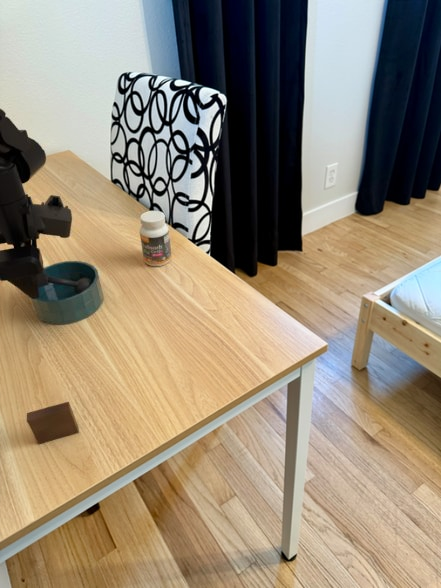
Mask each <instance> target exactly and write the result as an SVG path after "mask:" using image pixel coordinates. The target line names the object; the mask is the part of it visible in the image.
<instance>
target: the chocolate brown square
mask: <svg viewBox="0 0 441 588" xmlns="http://www.w3.org/2000/svg"><path fill="white" fill-rule="evenodd" d="M26 422H27V424H28V426H29V428H30V430H31V432H32V434H33V436H34V438H35V440H36V442H37V444H38V445H41V444H44V443H48V442H51V441H55V440H59V439H62V438H65V437H69V436H71V435H76V434H78V433H80V432H79V431H80V430H79V424H78V421H77V419H76V417H75V414H74V411H73V409H72V406H71V403H70V401H66V402H63V403H58V404H55V405H51V406H48V407H44V408H40V409H36V410H32V411H29V412H27V413H26Z"/></svg>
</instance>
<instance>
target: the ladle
mask: <svg viewBox="0 0 441 588" xmlns="http://www.w3.org/2000/svg"><path fill="white" fill-rule="evenodd" d="M44 268H45V267H44V266H43V271H42V272H41V273H40V274H38V275H37V282H38V287H42V286H46V285H49V283H54V284H60V285H67V286H73V287H74V289H75V292H76V294H80V293H81V292H83V291H84V290H86V289H88V288H89V287H90V286H91V284H92V283H93V281H92V280H90V279H88V278H82V279H80V280H78V281H72V280H66V279H59V278H53V277H48V276H47V274H46V272H45V269H44Z"/></svg>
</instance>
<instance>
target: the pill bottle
mask: <svg viewBox="0 0 441 588" xmlns="http://www.w3.org/2000/svg"><path fill="white" fill-rule="evenodd" d="M139 220H140V224H141V225H140V227H139V236H140V243H141V251H142V258H143V261H144V263H145V264H146V265H148V266H151V267H161V266H166V265H167V264H169V262H170V261H171V260H172V247H171V246H172V245H171V237H170V229H169V226H168V224H166V216H165V213H164V212H162V211H160V210H149V211H146V212H143V213H142V214H141V215H140V217H139Z"/></svg>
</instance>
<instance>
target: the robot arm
mask: <svg viewBox="0 0 441 588" xmlns="http://www.w3.org/2000/svg"><path fill="white" fill-rule="evenodd" d="M6 115H7V114H6V111H4V110H3V109H2V108H0V245H3V244H6V245H8V246H13V247H11V248H6V249H1V250H0V281H1V282H8V283H10V284H11V285H13V286H14V287H15V288H17V289H18V290H20V291H21V292H22V293H24V294H25V295H26V296H28V298H29V297H30V298H31V299H37V298H39V290H38V282H37V275H38V274H40V273H41V272H42V271H43V267H44V260H43V255H42V252H41V249H40V248H39V247H38V240H39V239H40V235H44V236H45V235H46V236H54V237H60V238H62V239H68V238H70V236H71V229H72V222H73V215H72V210H71V209H70V208H69V205H64V203H63V200H62V197H61V196H59V195H53V194H51V195H50V196H48V198H47V199H46V201H45V202H43V201H42V202H41V204H38V203H33V199H32V197H31V196H29V194H27V193H26V192H25V191H26V190H25V189H24V184H26V183H27V182H29V181H30V180H31V179H32V178H33V177H35V175H36V174H38V172H39V171H40V170H42V169H43V167H44V166H45V165H46V163H47V162H46V161H47V155H46V151H45V150H44V149H43V147H42V146H41V144H40V143H39V142H38V141H36V139H33V138H31V137H30V136H29V135H28V131H27V130H26V129H19V128H18V127H17V126H16V125H15V123H14V122H13V121H12V119H10V118H9V117H8V116H6Z"/></svg>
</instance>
